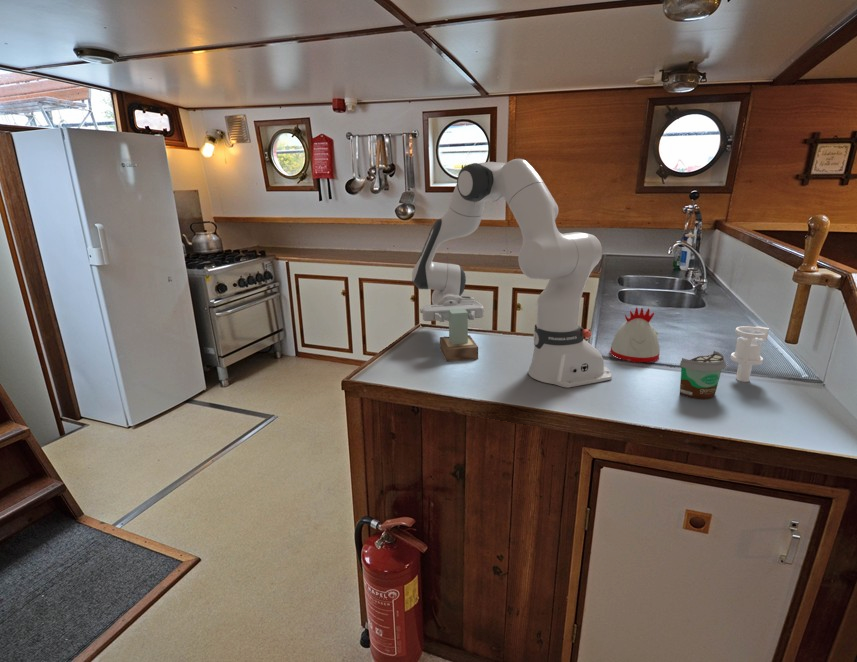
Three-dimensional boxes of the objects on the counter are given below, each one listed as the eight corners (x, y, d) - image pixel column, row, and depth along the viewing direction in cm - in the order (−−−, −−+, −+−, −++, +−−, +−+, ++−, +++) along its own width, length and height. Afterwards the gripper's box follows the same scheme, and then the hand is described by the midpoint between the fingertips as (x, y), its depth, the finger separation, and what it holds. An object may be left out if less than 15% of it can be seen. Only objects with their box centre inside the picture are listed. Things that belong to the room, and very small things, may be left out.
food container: (697, 405, 114) (703, 366, 111) (675, 395, 120) (680, 358, 117) (732, 395, 119) (739, 358, 116) (709, 386, 124) (715, 350, 121)
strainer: (757, 387, 123) (768, 331, 118) (725, 380, 127) (735, 327, 123) (759, 378, 128) (770, 324, 124) (729, 372, 132) (738, 320, 128)
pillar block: (464, 338, 154) (464, 308, 151) (467, 343, 149) (467, 312, 146) (449, 339, 153) (448, 309, 150) (452, 344, 148) (451, 313, 145)
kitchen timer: (664, 364, 140) (670, 314, 135) (614, 361, 142) (619, 313, 138) (652, 348, 153) (658, 302, 148) (607, 346, 155) (611, 301, 151)
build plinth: (469, 346, 158) (469, 334, 157) (478, 359, 147) (478, 346, 146) (439, 348, 157) (439, 336, 156) (446, 361, 146) (446, 348, 145)
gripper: (418, 300, 160) (424, 310, 147) (477, 296, 163) (488, 307, 150) (419, 318, 162) (424, 330, 149) (477, 314, 165) (488, 326, 152)
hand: (457, 318), depth 150 cm, fingers open, 8 cm apart
